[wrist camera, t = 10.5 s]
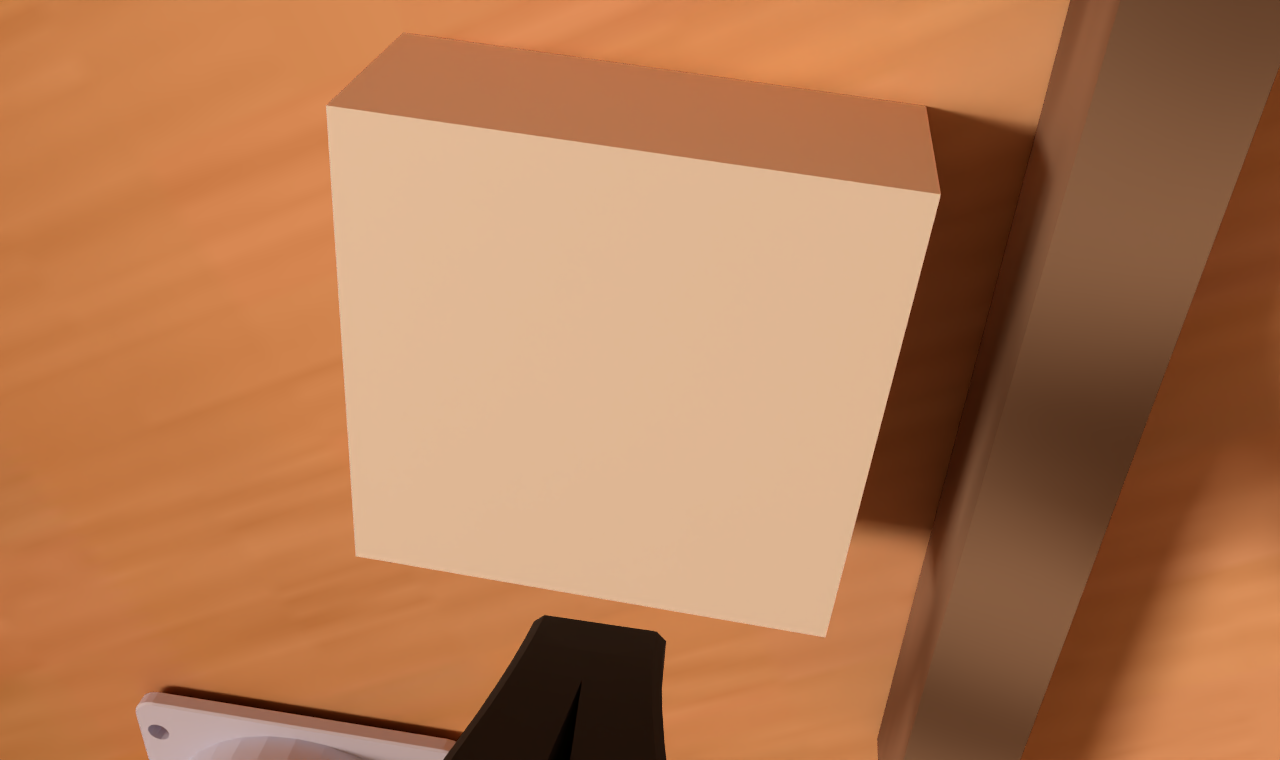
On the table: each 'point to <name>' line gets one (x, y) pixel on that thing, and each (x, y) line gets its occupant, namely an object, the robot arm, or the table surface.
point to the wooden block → (620, 322)
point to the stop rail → (1074, 353)
